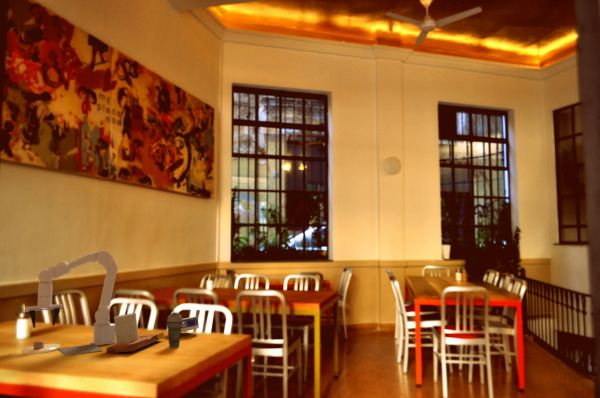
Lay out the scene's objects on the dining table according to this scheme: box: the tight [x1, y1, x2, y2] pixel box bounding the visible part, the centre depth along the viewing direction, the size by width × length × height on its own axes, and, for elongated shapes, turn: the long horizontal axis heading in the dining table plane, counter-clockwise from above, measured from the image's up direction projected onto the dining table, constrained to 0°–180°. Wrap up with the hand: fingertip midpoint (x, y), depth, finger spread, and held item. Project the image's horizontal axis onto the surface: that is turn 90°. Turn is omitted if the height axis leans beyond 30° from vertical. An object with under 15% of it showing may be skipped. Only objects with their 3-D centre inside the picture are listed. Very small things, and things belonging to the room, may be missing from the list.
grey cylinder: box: [113, 312, 139, 344], centre depth 207 cm, size 10×10×12 cm
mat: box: [58, 343, 103, 357], centre depth 202 cm, size 15×15×1 cm
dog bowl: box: [181, 316, 199, 333], centre depth 239 cm, size 15×15×6 cm
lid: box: [21, 340, 61, 355], centre depth 202 cm, size 17×17×4 cm
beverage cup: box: [166, 302, 183, 349], centre depth 211 cm, size 7×7×20 cm
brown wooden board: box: [105, 331, 165, 355], centre depth 210 cm, size 13×30×3 cm, turn 171°
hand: (43, 326), depth 206 cm, fingers open, 7 cm apart
